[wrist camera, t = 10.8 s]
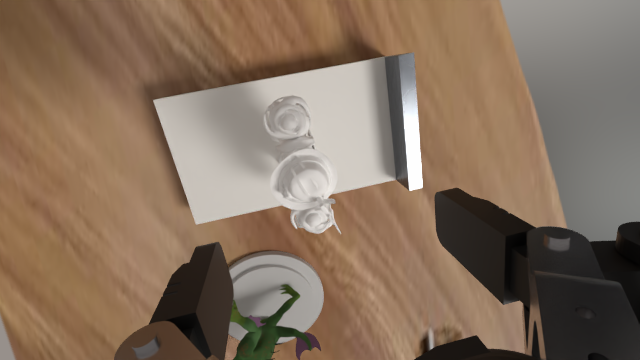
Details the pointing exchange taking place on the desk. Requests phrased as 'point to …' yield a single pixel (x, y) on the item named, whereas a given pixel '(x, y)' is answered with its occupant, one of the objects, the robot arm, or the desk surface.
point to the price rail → (404, 119)
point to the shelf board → (260, 150)
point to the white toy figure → (300, 166)
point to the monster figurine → (273, 303)
